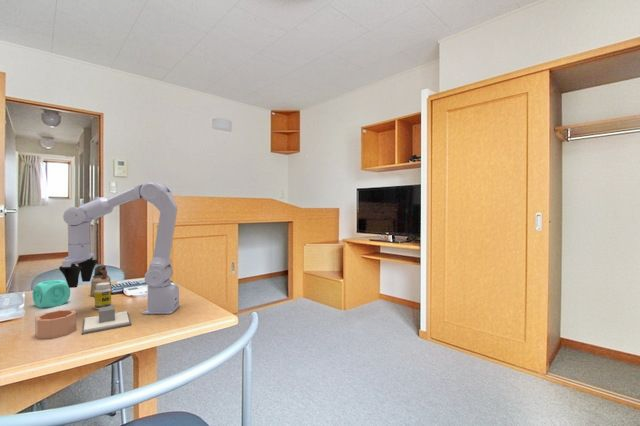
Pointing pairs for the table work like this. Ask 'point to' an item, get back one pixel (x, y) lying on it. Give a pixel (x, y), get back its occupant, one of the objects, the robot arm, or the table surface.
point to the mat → (105, 328)
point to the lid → (106, 319)
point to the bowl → (55, 324)
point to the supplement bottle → (102, 295)
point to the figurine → (99, 278)
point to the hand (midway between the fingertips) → (79, 284)
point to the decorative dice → (51, 293)
